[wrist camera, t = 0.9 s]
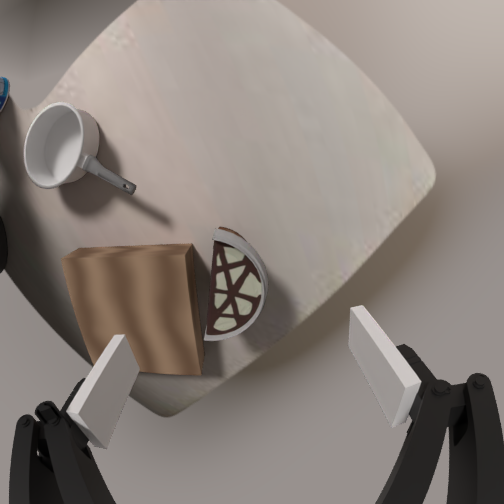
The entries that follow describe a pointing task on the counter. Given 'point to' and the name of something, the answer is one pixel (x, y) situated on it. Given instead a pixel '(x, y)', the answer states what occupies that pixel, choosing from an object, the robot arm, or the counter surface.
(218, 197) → the counter surface
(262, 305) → the food container
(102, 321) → the walnut base
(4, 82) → the beverage bottle
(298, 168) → the counter surface
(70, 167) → the saucepan
